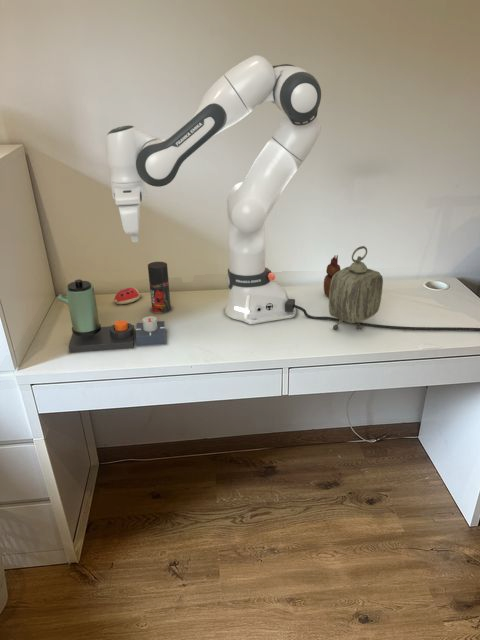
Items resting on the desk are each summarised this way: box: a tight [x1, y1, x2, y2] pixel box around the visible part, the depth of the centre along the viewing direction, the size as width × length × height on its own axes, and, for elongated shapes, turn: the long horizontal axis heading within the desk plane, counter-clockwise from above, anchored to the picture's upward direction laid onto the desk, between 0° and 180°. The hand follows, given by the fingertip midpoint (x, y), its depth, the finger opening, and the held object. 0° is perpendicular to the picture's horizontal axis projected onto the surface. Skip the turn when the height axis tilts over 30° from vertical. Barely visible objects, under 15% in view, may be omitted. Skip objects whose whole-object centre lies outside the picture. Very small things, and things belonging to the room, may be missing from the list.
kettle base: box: [68, 322, 135, 354], centre depth 154 cm, size 17×11×4 cm, turn 100°
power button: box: [113, 319, 129, 331], centre depth 154 cm, size 4×4×2 cm
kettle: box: [56, 279, 102, 336], centre depth 150 cm, size 10×10×15 cm
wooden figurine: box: [323, 254, 341, 298], centre depth 181 cm, size 7×6×15 cm
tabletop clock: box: [328, 245, 384, 331], centre depth 158 cm, size 14×9×25 cm, turn 134°
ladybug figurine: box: [113, 287, 141, 305], centre depth 180 cm, size 7×10×4 cm
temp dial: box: [141, 315, 158, 332], centre depth 155 cm, size 4×4×3 cm
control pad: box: [135, 320, 167, 347], centre depth 156 cm, size 8×9×3 cm
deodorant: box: [147, 261, 172, 314], centre depth 171 cm, size 6×6×15 cm
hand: (135, 240), depth 153 cm, fingers closed
